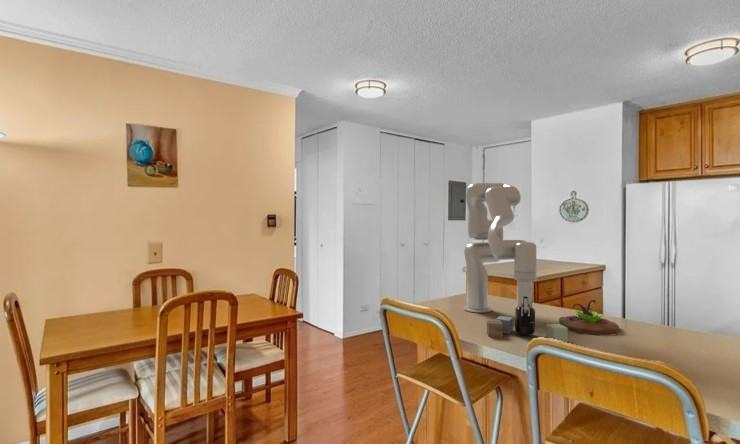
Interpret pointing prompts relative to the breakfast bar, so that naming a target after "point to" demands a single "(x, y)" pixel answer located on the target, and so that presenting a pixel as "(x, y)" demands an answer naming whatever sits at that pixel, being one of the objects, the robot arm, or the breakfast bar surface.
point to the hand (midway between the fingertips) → (524, 323)
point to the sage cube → (557, 332)
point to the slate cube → (506, 324)
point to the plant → (589, 322)
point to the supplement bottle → (518, 327)
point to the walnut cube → (494, 328)
